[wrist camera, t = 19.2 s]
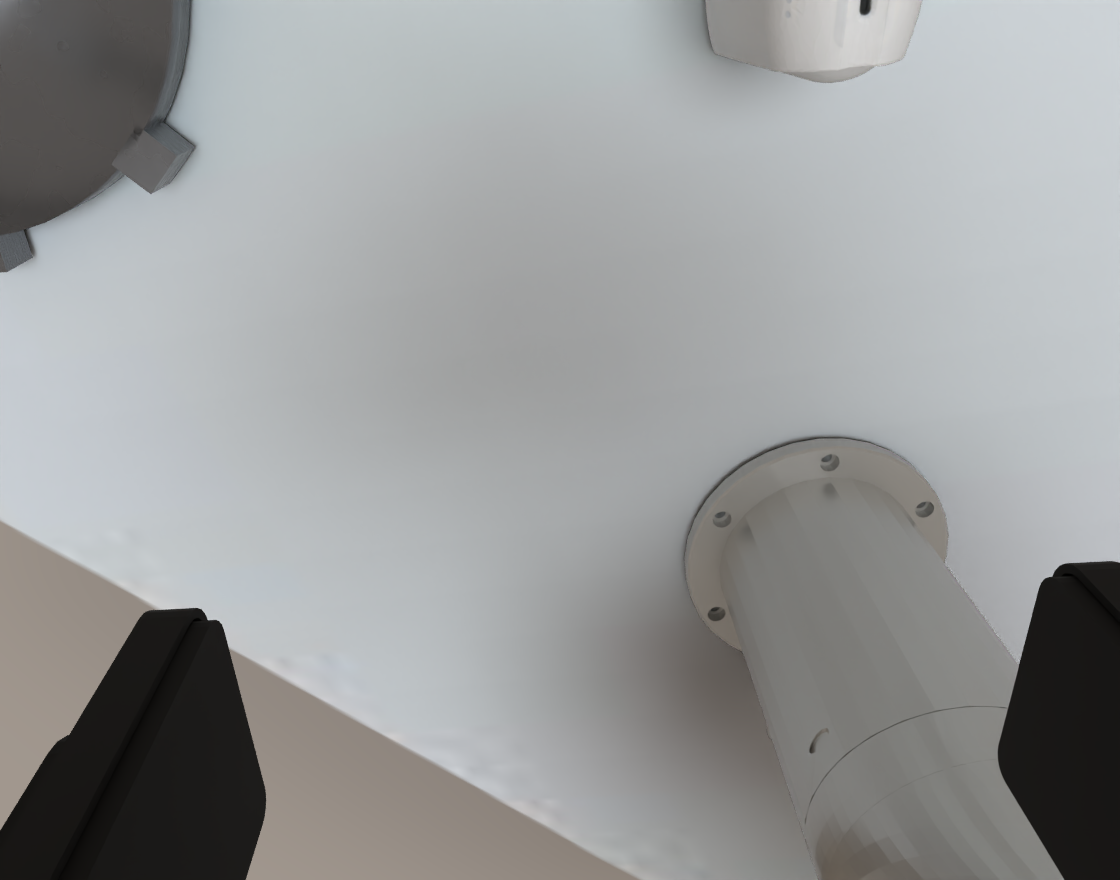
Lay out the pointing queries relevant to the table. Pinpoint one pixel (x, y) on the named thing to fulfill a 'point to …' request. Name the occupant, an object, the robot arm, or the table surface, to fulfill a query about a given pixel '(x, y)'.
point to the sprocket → (84, 105)
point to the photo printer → (813, 34)
